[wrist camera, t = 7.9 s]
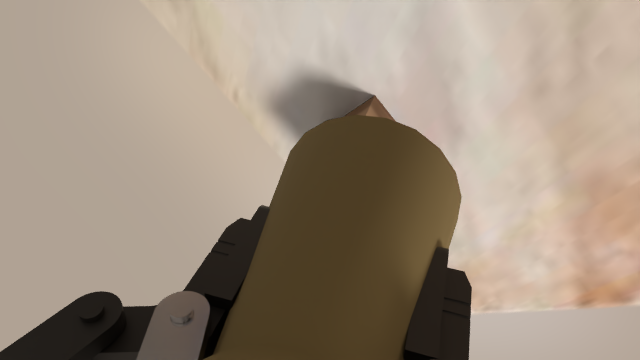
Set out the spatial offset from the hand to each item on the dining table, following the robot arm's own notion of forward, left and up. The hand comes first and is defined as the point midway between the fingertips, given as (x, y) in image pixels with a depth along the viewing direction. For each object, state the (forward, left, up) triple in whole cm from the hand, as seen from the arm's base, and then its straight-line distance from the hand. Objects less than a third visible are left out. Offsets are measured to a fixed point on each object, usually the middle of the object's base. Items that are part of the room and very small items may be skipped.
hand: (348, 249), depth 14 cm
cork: (0, 0, -3) cm, 3 cm away
